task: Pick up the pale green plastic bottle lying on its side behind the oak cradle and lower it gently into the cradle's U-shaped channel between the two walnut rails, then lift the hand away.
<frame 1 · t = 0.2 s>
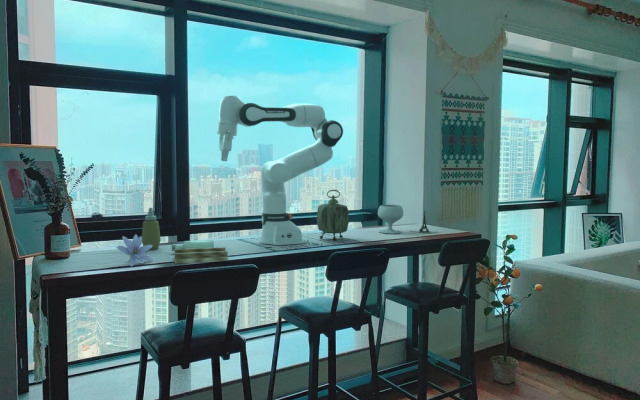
hand: (224, 161, 224), 39 cm above the table, tool pointing down, fingers open, 8 cm apart
squeeze bottle: (151, 248, 214), on the table
chalice: (390, 233, 269), on the table
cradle: (200, 259, 193), on the table
eiffel tower figurine: (423, 233, 273), on the table
tabletop clock: (333, 239, 243), on the table
water lily: (136, 263, 185), on the table
bottle: (199, 252, 208), on the table
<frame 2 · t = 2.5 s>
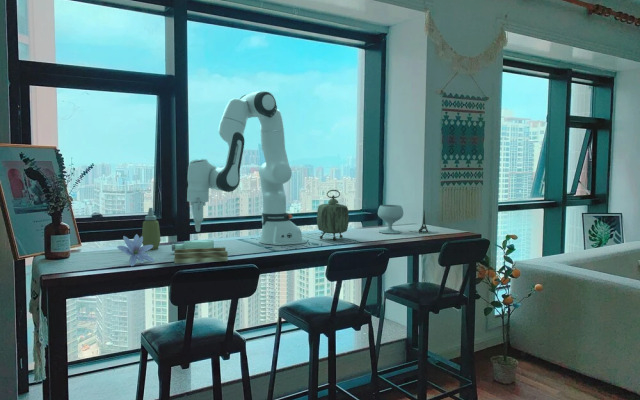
hand: (197, 229, 207), 10 cm above the table, tool pointing down, fingers open, 8 cm apart
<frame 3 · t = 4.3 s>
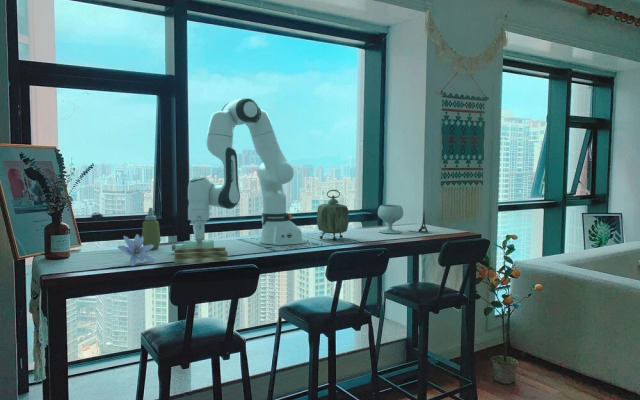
hand: (199, 247, 207), 2 cm above the table, tool pointing down, fingers closed on bottle, 5 cm apart
bottle: (199, 252, 208), on the table, touching gripper
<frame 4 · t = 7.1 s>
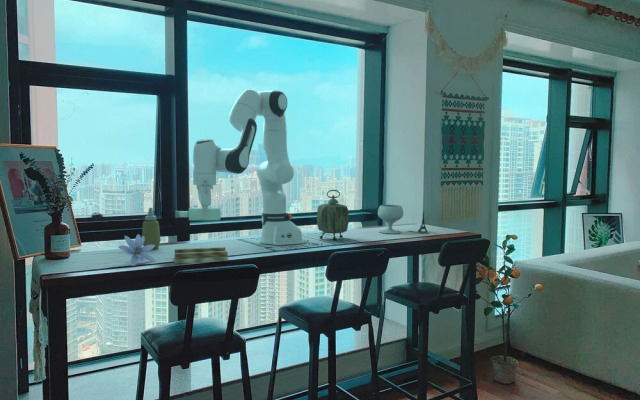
hand: (204, 215, 193), 17 cm above the table, tool pointing down, fingers closed on bottle, 5 cm apart
bottle: (204, 220, 193), point 16 cm above the table, touching gripper
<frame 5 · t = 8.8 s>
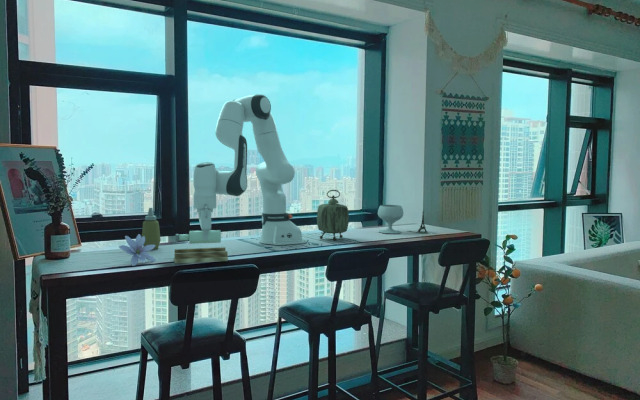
hand: (205, 238, 193), 8 cm above the table, tool pointing down, fingers closed on bottle, 5 cm apart
bottle: (205, 243, 193), point 6 cm above the table, touching gripper
when the fingers open (5 cm above the table, at t = 10.3 s): bottle drops 2 cm, resting on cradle.
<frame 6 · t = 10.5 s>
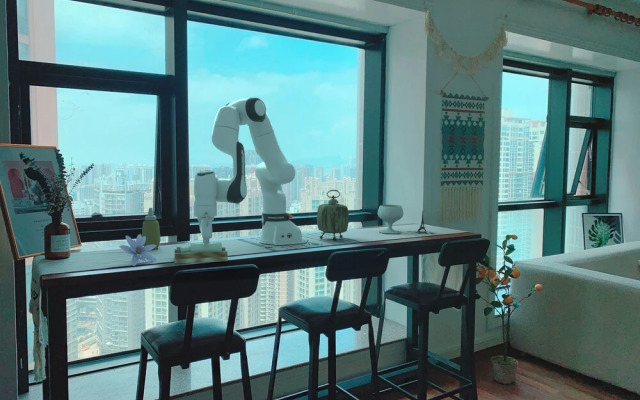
hand: (205, 246, 193), 5 cm above the table, tool pointing down, fingers open, 7 cm apart
bottle: (206, 255, 194), point 1 cm above the table, touching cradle
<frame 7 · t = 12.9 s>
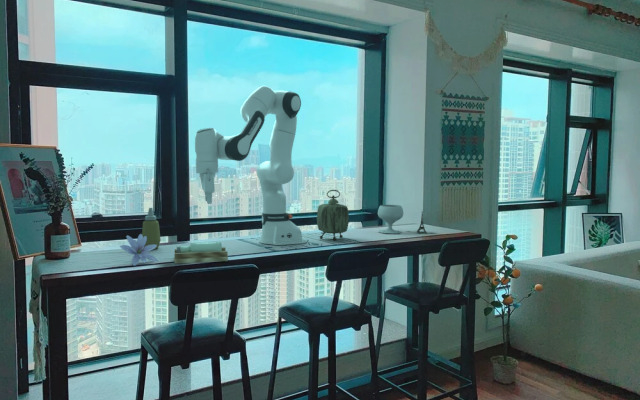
hand: (208, 202, 198), 22 cm above the table, tool pointing down, fingers open, 8 cm apart
bottle: (206, 255, 194), point 2 cm above the table, tilted 13°, touching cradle
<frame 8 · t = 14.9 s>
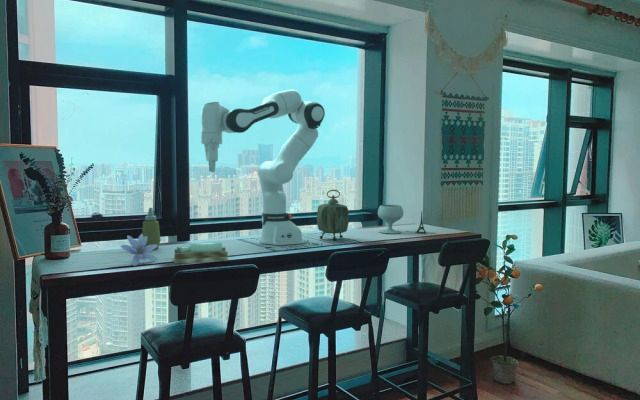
hand: (212, 171, 211), 34 cm above the table, tool pointing down, fingers open, 8 cm apart
at the end: bottle 0.0 cm from the target spot on the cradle, point 1.7 cm above the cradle's base; bottle touching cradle; the gripper is holding nothing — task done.
